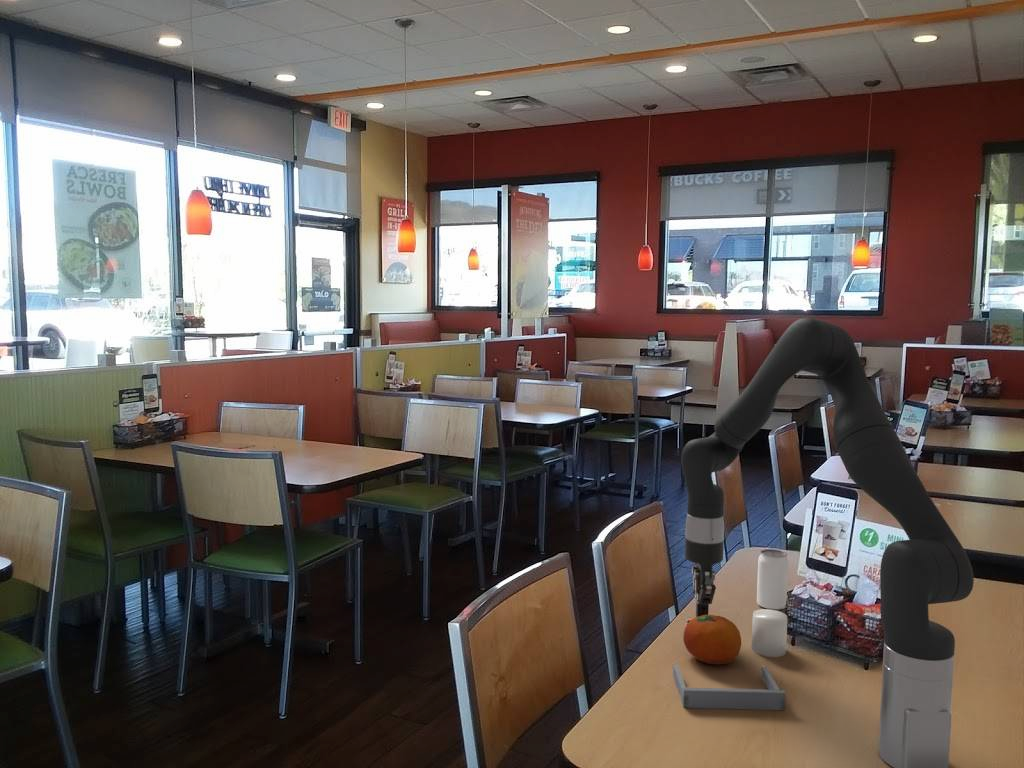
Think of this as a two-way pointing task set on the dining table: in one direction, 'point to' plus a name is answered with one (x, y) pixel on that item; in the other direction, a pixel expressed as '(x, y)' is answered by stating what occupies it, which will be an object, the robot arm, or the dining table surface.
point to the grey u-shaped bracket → (732, 695)
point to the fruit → (712, 639)
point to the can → (772, 579)
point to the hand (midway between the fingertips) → (701, 620)
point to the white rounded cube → (769, 633)
